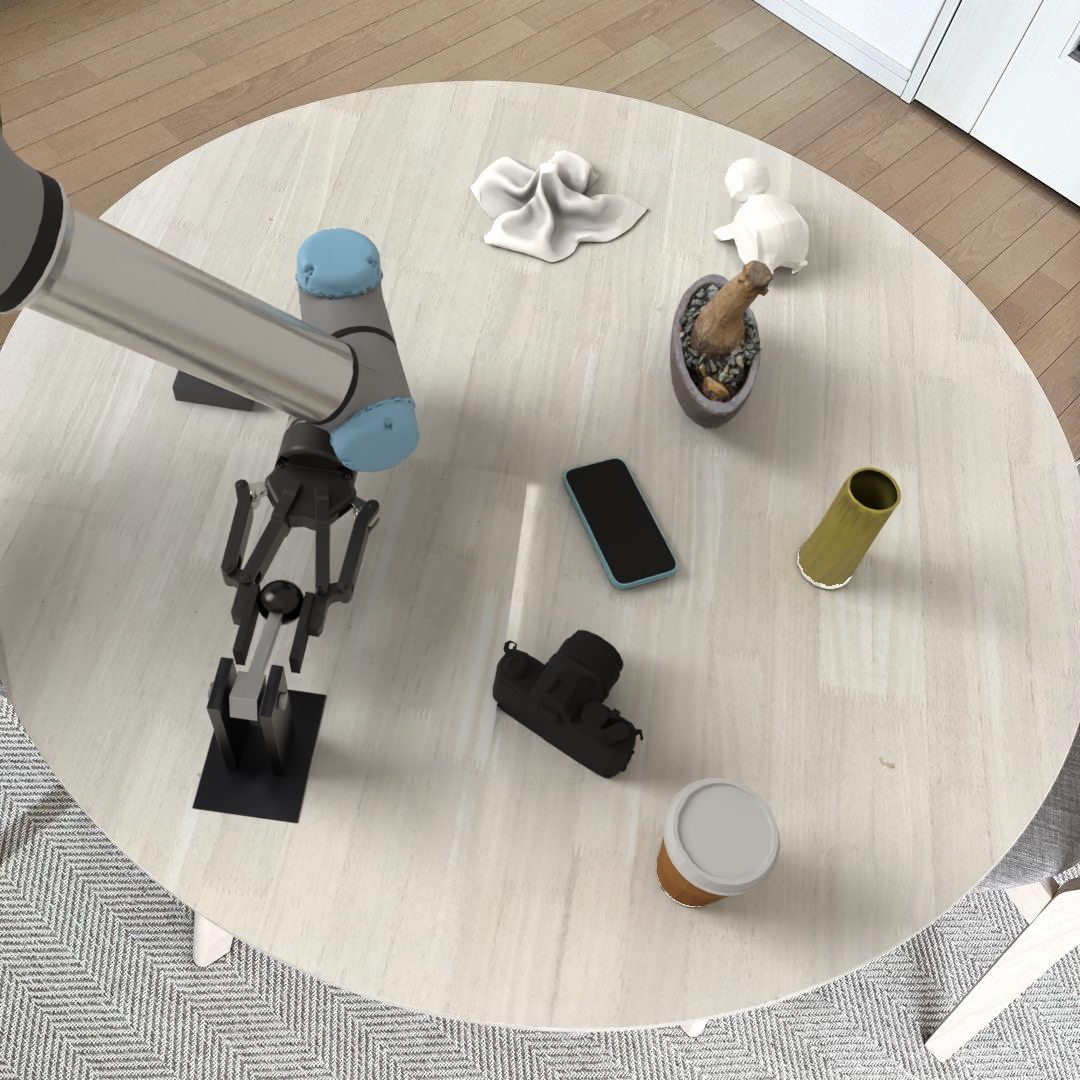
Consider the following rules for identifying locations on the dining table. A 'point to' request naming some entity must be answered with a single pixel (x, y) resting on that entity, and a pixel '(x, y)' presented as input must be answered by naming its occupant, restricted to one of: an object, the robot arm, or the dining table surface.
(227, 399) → the control block
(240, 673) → the lever
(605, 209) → the cloth
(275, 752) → the bracket
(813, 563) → the vase
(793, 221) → the white figurine
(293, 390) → the robot arm
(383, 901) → the dining table surface
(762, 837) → the disposable coffee cup
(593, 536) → the smartphone
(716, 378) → the planter
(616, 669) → the film camera
